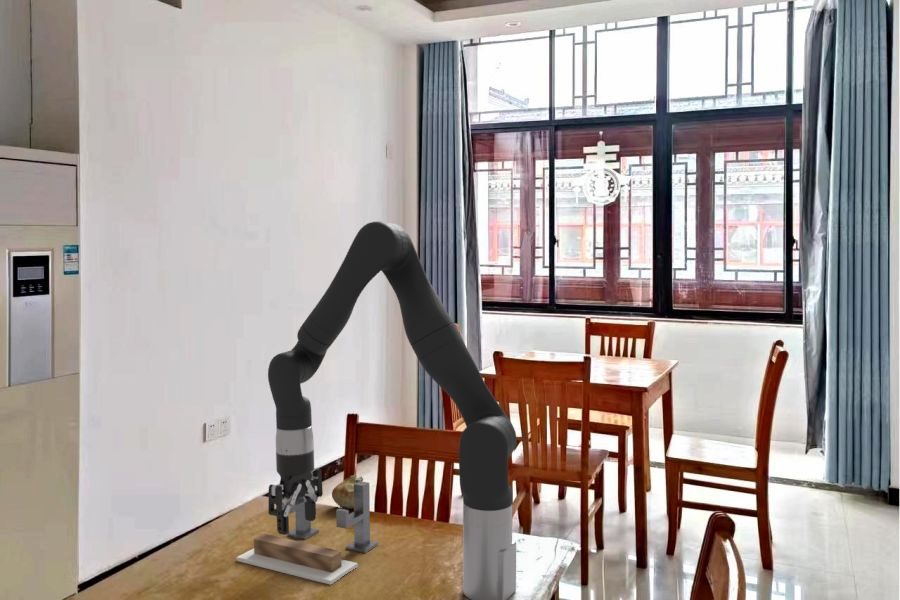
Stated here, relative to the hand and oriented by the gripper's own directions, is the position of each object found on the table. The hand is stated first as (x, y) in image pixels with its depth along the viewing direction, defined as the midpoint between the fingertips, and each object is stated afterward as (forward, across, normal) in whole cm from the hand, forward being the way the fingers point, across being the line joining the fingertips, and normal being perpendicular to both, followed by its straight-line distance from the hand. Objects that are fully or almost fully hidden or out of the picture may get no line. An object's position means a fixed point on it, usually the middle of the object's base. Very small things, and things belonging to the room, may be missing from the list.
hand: (297, 526), depth 152 cm
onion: (+8, +32, +10) cm, 35 cm away
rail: (+7, 0, 0) cm, 7 cm away
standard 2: (+8, +11, -6) cm, 15 cm away
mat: (+8, 0, 0) cm, 8 cm away
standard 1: (+8, +11, +9) cm, 16 cm away
